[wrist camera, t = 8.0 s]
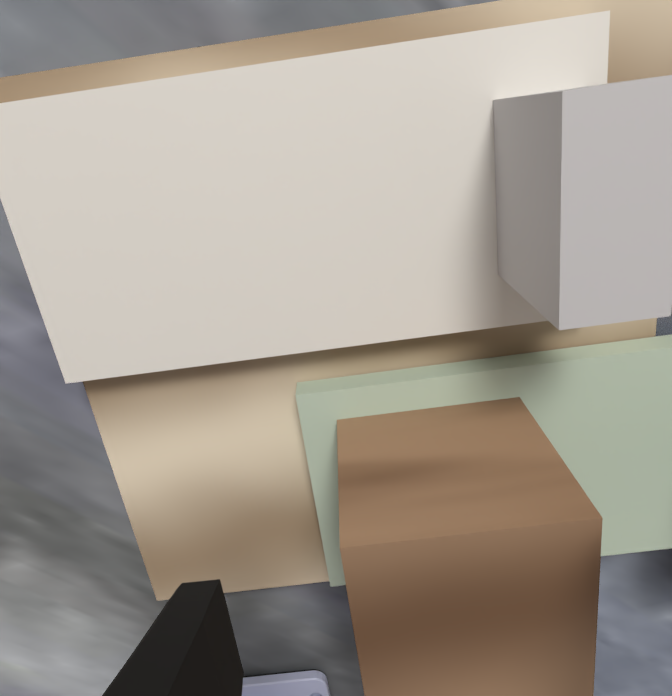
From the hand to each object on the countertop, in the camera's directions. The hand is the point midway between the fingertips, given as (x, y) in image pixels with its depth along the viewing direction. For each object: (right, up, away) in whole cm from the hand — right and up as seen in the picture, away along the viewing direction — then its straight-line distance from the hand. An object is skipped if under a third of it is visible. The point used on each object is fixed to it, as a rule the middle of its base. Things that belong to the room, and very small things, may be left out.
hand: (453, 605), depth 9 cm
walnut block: (+1, 0, +7) cm, 7 cm away
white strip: (-3, +7, +5) cm, 9 cm away
